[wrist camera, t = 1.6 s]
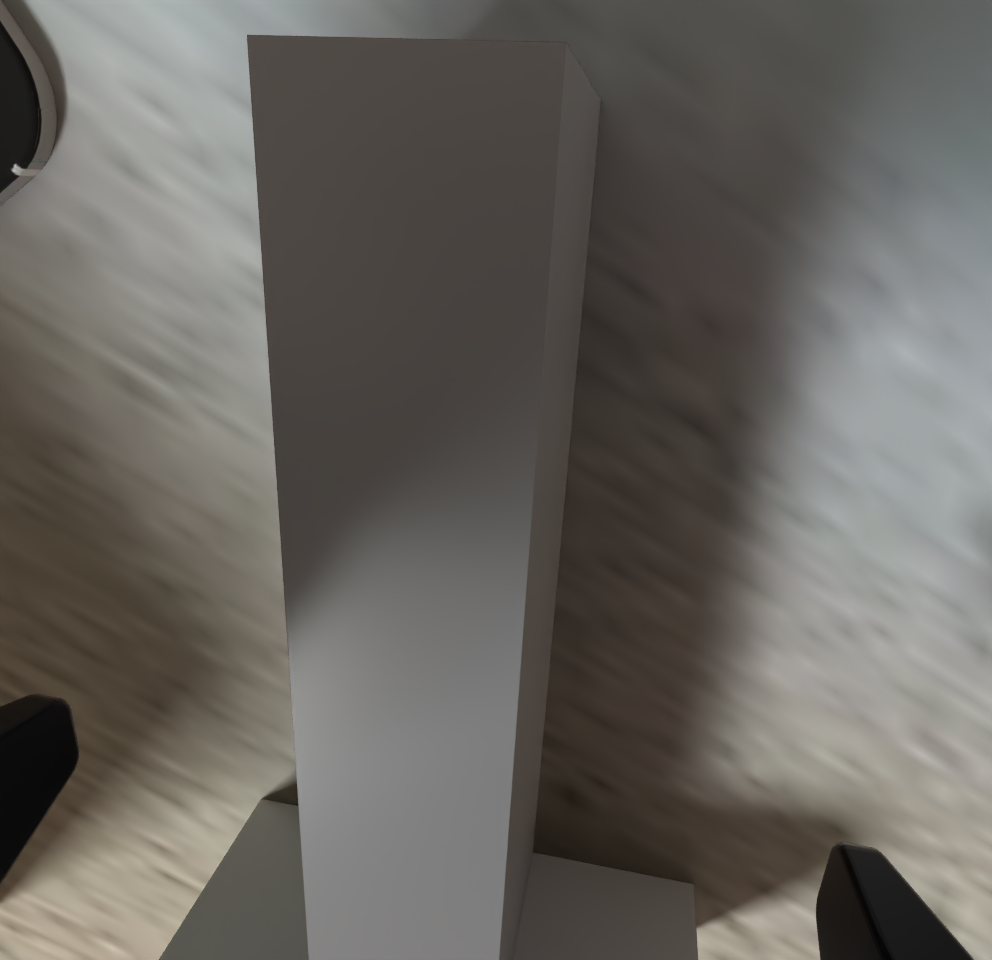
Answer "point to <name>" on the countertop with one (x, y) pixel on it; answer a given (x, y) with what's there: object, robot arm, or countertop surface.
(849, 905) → the robot arm
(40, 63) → the smartphone
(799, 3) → the countertop surface
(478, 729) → the grey t-shaped block
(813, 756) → the countertop surface
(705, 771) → the countertop surface
